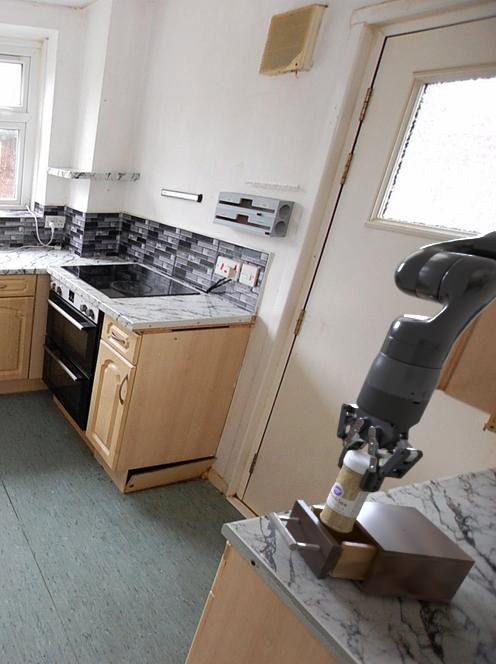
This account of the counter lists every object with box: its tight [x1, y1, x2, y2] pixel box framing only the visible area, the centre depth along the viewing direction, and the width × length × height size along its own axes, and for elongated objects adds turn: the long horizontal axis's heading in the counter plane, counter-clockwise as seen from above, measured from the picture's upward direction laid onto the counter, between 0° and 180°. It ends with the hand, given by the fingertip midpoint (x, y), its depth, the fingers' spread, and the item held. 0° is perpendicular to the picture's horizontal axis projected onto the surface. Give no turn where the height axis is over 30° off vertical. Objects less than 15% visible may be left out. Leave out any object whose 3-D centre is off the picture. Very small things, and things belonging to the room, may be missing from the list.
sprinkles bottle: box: [320, 450, 383, 533], centre depth 74 cm, size 5×5×13 cm
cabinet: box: [352, 500, 477, 605], centre depth 77 cm, size 14×12×9 cm
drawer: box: [267, 499, 379, 581], centre depth 78 cm, size 18×10×7 cm, turn 86°
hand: (355, 479), depth 73 cm, fingers closed on sprinkles bottle, 4 cm apart
